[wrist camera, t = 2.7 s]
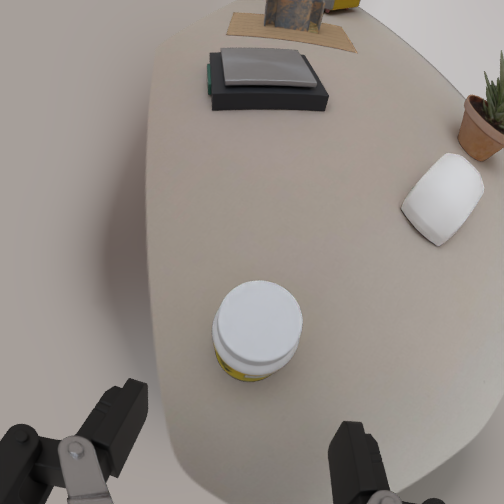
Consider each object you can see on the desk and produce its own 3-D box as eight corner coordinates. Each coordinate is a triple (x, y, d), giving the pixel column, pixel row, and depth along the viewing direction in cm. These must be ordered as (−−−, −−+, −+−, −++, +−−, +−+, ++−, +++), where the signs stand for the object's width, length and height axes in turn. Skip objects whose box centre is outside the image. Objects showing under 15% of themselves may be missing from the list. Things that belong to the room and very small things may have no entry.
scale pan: (224, 85, 32) (225, 80, 31) (220, 52, 36) (220, 47, 36) (316, 88, 33) (317, 82, 32) (296, 54, 38) (297, 49, 37)
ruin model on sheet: (226, 34, 46) (228, -11, 38) (233, 12, 54) (236, -24, 45) (357, 53, 47) (370, 11, 39) (341, 26, 55) (349, -7, 47)
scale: (208, 110, 34) (208, 93, 31) (206, 66, 39) (206, 52, 37) (324, 111, 35) (329, 95, 33) (301, 68, 41) (304, 54, 39)
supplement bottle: (209, 325, 22) (200, 280, 15) (272, 312, 23) (295, 262, 15) (223, 389, 20) (221, 379, 12) (288, 374, 21) (323, 355, 13)
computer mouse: (473, 200, 31) (500, 169, 26) (436, 256, 26) (472, 221, 21) (438, 165, 33) (461, 131, 28) (391, 210, 29) (420, 169, 23)
